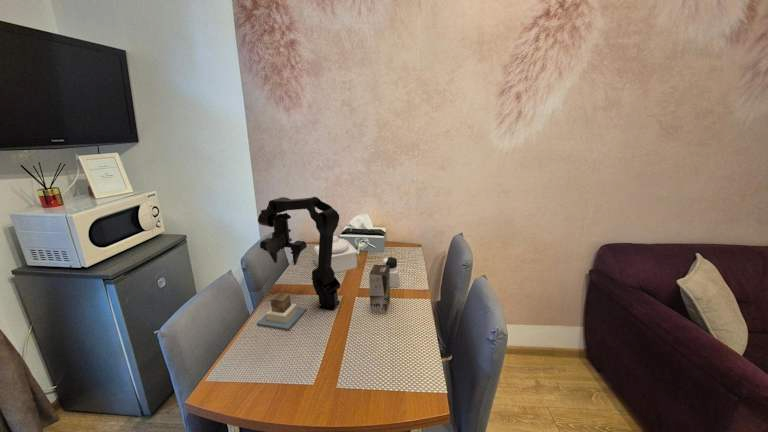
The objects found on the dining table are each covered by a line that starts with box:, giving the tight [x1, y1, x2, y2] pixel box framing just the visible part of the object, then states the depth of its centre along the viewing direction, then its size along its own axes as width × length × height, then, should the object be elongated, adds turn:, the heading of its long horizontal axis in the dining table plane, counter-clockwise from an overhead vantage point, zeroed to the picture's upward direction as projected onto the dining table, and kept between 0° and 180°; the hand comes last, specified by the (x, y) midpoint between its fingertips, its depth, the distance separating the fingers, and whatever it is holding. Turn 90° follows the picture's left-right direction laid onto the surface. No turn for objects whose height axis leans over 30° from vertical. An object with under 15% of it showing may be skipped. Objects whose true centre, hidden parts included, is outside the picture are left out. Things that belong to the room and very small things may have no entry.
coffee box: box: [368, 264, 391, 315], centre depth 126 cm, size 9×6×16 cm
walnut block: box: [269, 292, 292, 313], centre depth 121 cm, size 5×5×5 cm
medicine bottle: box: [382, 256, 400, 288], centre depth 144 cm, size 7×7×12 cm
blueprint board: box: [256, 303, 308, 332], centre depth 122 cm, size 13×13×4 cm
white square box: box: [312, 235, 359, 274], centre depth 164 cm, size 18×18×16 cm
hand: (285, 263), depth 137 cm, fingers open, 9 cm apart
